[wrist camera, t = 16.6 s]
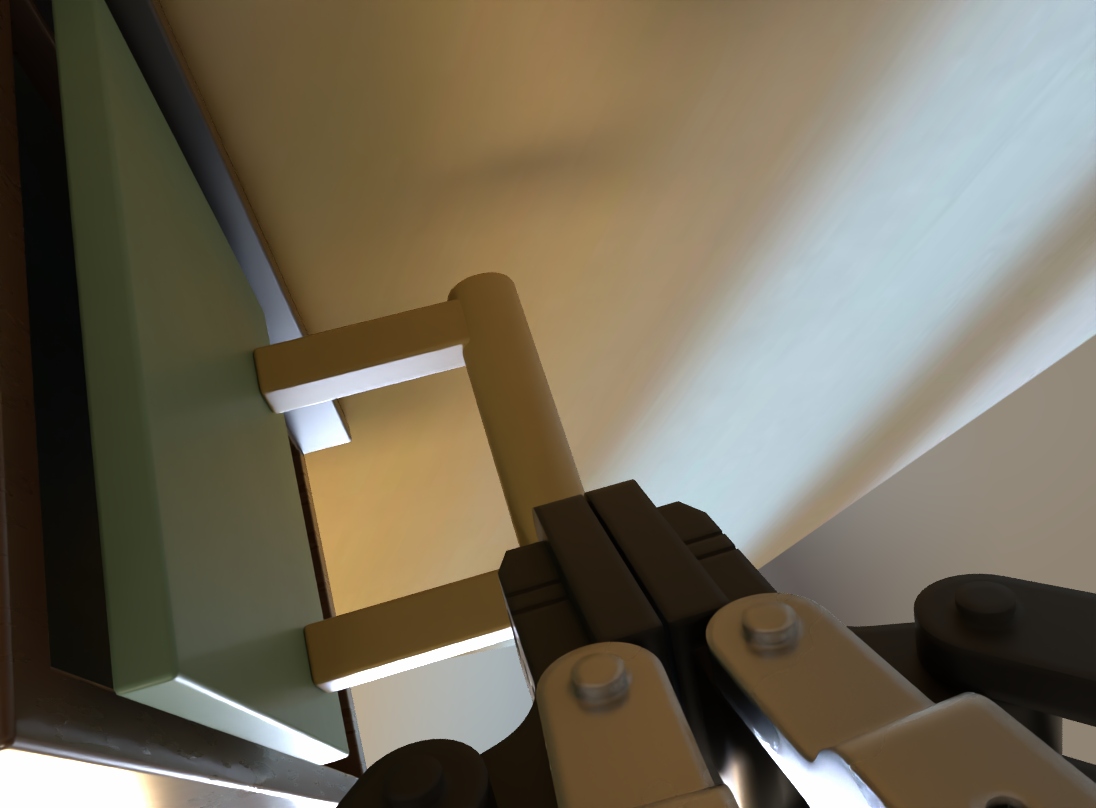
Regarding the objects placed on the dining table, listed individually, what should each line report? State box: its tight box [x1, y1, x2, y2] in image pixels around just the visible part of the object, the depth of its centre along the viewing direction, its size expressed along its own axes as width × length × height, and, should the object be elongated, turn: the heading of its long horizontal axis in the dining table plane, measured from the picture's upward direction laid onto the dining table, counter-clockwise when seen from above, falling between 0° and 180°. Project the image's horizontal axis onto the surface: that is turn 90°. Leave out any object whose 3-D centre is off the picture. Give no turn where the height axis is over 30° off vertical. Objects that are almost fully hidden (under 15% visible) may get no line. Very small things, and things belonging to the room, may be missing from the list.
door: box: [51, 0, 585, 765], centre depth 14 cm, size 6×9×10 cm
